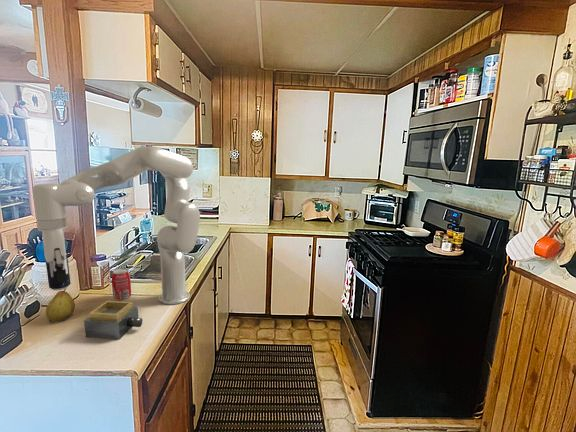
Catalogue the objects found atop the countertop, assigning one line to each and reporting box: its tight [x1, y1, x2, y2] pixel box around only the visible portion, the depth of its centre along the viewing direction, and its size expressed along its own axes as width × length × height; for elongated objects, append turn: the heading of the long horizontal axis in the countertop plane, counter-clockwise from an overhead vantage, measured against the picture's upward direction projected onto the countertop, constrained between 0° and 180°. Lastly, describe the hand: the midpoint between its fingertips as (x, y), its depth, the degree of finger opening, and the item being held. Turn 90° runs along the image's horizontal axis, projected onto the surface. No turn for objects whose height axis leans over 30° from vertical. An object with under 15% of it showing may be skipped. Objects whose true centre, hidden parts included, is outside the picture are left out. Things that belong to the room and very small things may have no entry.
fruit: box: [45, 288, 76, 323], centre depth 119 cm, size 9×9×12 cm
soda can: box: [111, 268, 132, 301], centre depth 137 cm, size 7×7×12 cm
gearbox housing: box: [83, 300, 143, 340], centre depth 113 cm, size 12×16×8 cm
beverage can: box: [44, 251, 71, 291], centre depth 103 cm, size 6×6×12 cm
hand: (59, 278), depth 104 cm, fingers closed on beverage can, 5 cm apart
